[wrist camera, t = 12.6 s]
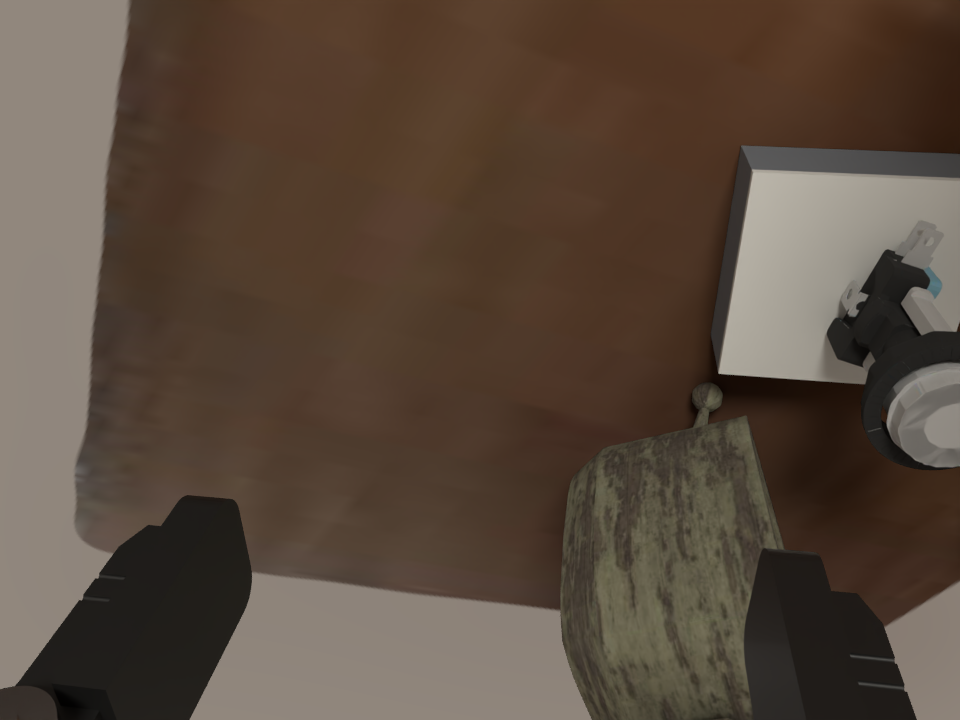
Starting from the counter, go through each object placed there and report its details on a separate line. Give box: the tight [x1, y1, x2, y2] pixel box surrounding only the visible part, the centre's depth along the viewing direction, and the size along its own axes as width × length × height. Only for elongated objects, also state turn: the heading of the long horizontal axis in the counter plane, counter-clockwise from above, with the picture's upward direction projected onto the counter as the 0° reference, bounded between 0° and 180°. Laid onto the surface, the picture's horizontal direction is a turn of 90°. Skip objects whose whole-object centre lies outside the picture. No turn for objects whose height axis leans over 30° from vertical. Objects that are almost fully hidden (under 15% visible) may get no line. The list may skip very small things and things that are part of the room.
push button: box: [827, 220, 960, 470], centre depth 32 cm, size 7×5×10 cm
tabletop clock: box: [561, 383, 785, 720], centre depth 37 cm, size 14×9×25 cm, turn 22°
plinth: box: [711, 146, 960, 384], centre depth 38 cm, size 10×10×4 cm
